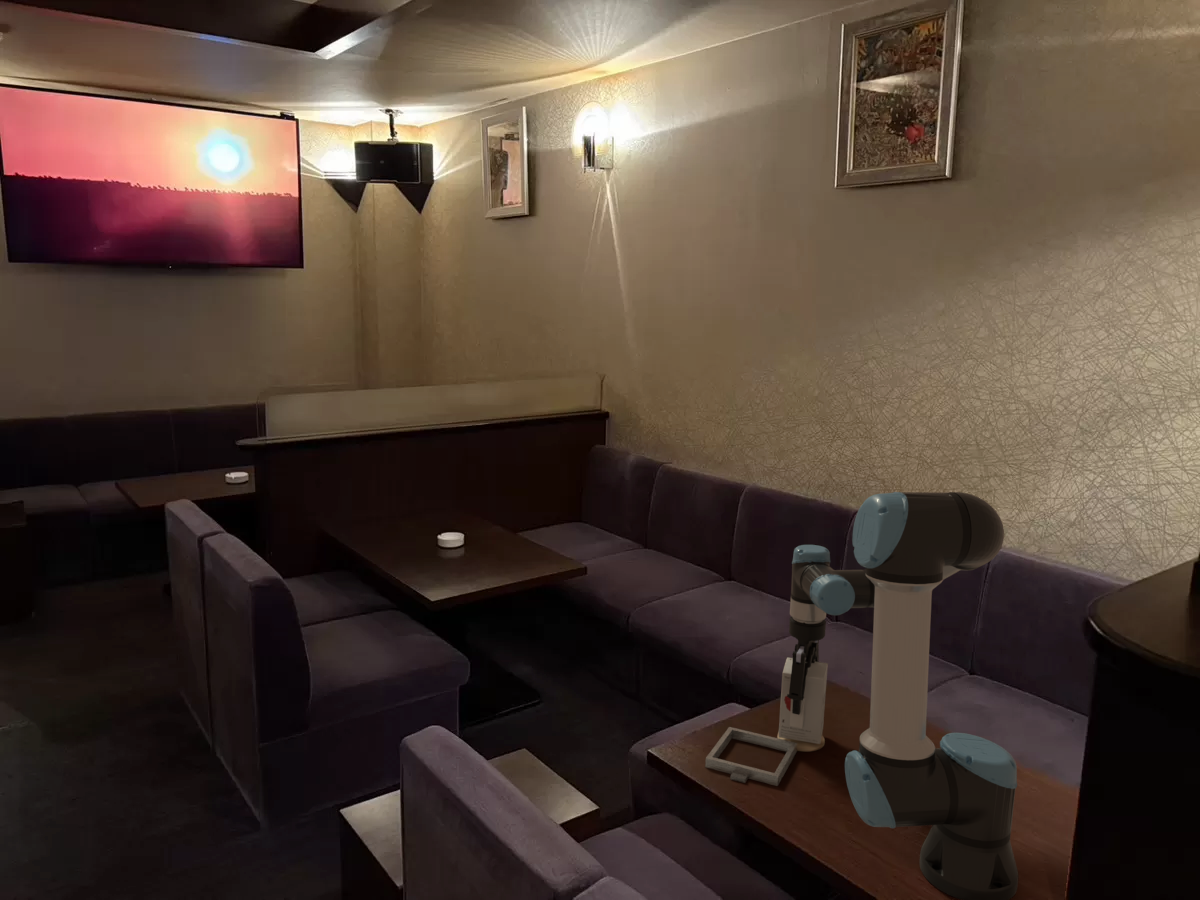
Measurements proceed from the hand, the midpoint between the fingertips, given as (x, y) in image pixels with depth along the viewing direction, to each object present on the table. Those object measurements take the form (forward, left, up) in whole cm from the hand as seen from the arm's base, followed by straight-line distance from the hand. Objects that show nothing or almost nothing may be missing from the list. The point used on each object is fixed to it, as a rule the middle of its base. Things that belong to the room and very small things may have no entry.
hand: (802, 716), depth 189 cm
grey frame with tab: (-13, +7, -5) cm, 16 cm away
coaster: (0, 0, -5) cm, 5 cm away
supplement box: (0, 0, -4) cm, 4 cm away
